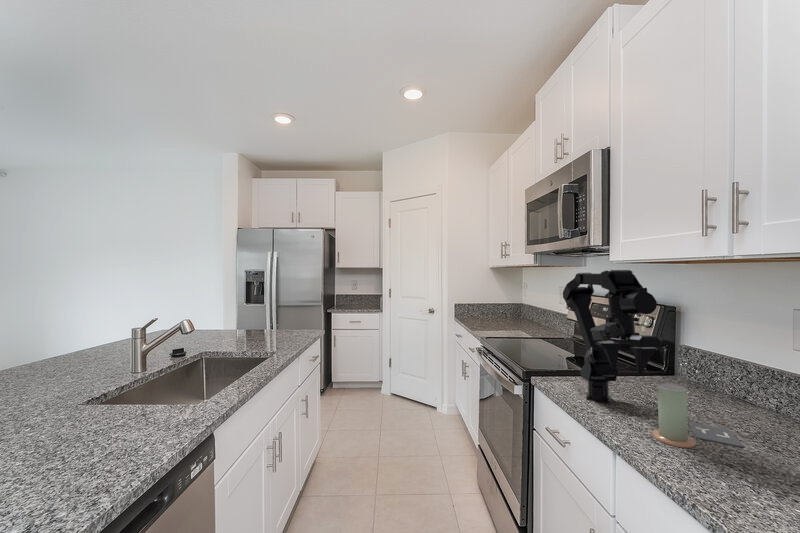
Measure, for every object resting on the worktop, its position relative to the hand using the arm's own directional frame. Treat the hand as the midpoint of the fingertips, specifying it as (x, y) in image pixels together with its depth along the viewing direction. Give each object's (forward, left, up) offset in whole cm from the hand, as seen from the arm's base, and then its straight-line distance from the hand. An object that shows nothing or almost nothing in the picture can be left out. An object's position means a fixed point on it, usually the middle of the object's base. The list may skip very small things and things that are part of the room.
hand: (626, 370), depth 93 cm
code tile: (0, +18, -13) cm, 22 cm away
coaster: (+9, +9, -13) cm, 18 cm away
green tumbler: (+9, +9, -12) cm, 17 cm away
